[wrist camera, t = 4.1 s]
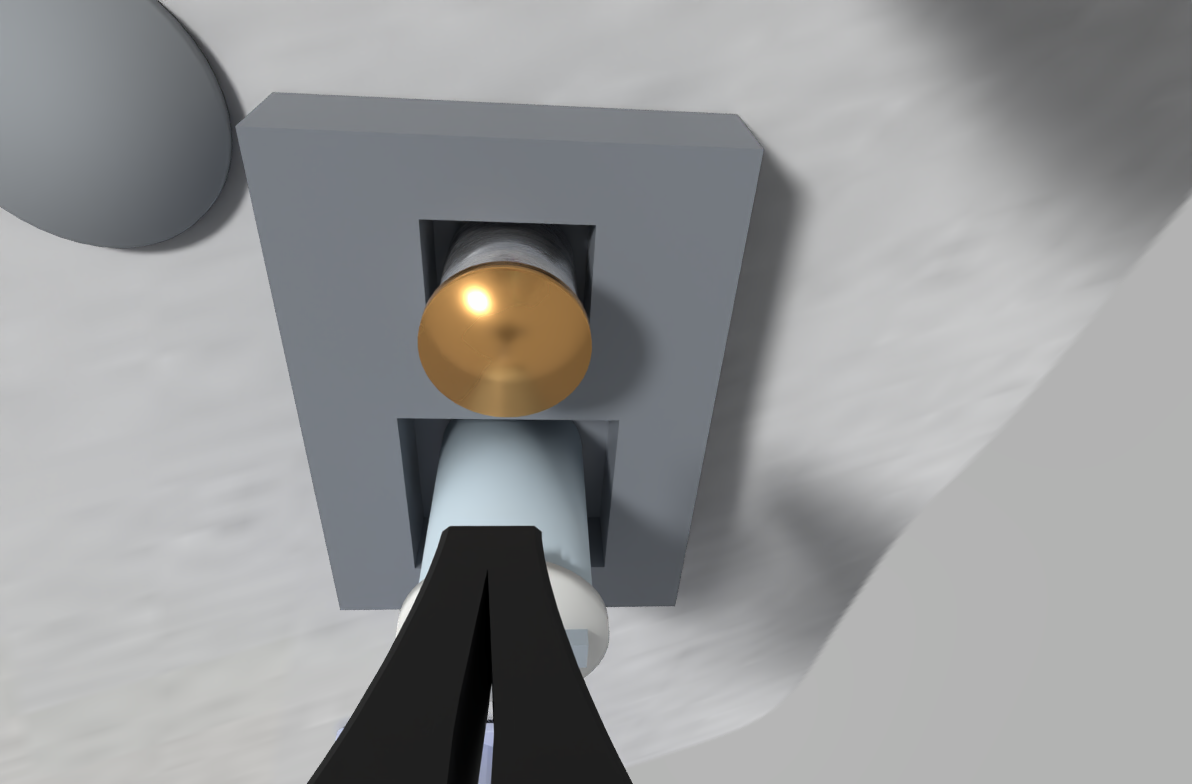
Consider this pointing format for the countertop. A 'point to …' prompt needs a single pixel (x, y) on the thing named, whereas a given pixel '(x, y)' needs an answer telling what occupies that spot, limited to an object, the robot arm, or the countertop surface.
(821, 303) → the countertop surface
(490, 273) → the plunger
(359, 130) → the grey flat block
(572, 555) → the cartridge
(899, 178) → the countertop surface
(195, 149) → the pad
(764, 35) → the countertop surface
